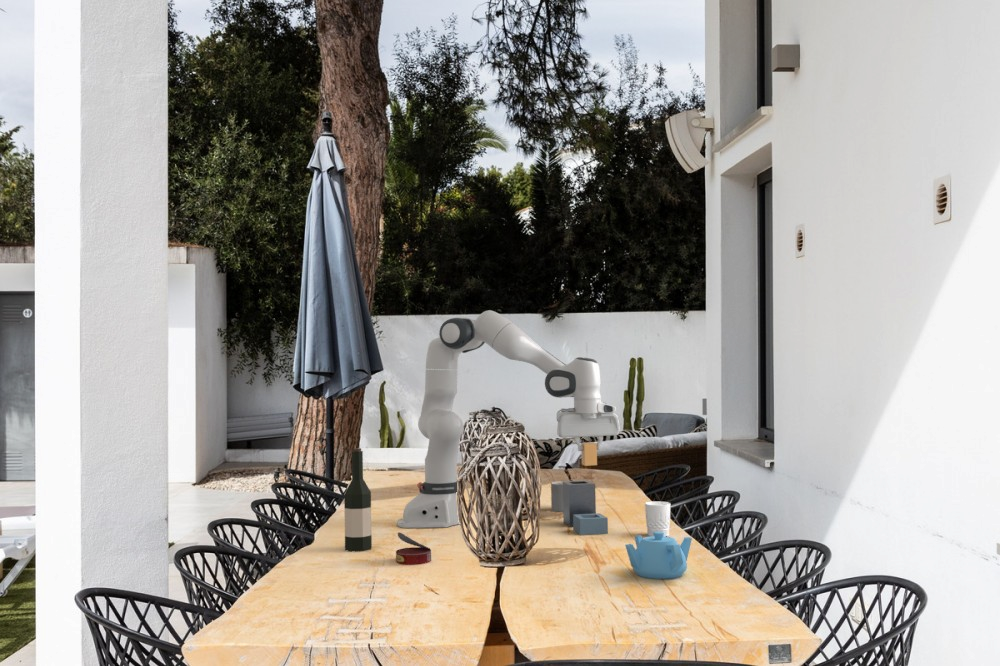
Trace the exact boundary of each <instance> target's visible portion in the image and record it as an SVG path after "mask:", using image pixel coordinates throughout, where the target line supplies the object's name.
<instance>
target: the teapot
mask: <svg viewBox="0 0 1000 666" xmlns="http://www.w3.org/2000/svg"><path fill="white" fill-rule="evenodd" d="M653 535H654V536H645V537H643V536H642V535H634V541H635V545H636V548H635V546H634V544H632V543H628V544H625V549H626V552H627V556H628V558H629V559H628V560H629V562H630V566H631V568H632V570H633V571H634V572H635V574H636V575H637V576H639V577H642V578H645V579H652V580H653V579H654V580H669V579H676V578H680V577H682V575H683V574H685V572H686V571H687V568H688V566H687V564H688V563H687V561H688V557H689V553H690V548H691V544H692V540H693V538H692V537H690V536H686V537H684V538H683V540H682V542H681V544H679V543H678V542H677V540H676V539H675V538H673V537H672V536H670V537H669V536H667V537H666V536H664V532H653Z"/></svg>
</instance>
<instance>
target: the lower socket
mask: <svg viewBox="0 0 1000 666" xmlns="http://www.w3.org/2000/svg"><path fill="white" fill-rule="evenodd" d="M608 523H609V521H608V517H607V516H605V515H603V514H601V512H600V513H597V512H596V514H576V515H573V527H572V528H573V532H575V533H577V534H578V535H580V536H587V535H588V536H591V535H608V534H609V526H608V525H609V524H608Z"/></svg>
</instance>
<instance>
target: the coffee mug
mask: <svg viewBox="0 0 1000 666" xmlns="http://www.w3.org/2000/svg"><path fill="white" fill-rule="evenodd" d="M563 481H564V480H559V481H552V482H551V483H550V488H551V489H550V501H551V503H550V504H551V511H552V512H555V513H563Z"/></svg>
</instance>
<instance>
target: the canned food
mask: <svg viewBox="0 0 1000 666" xmlns="http://www.w3.org/2000/svg"><path fill="white" fill-rule="evenodd" d="M397 536H398V538H399V539H400V540H401V541H403V542H404V543H407V544H409V545H411V546H412V545H413V546H414V547H413V546H412V547H405V548H404V547H403V548H400V549H397V550H396V551H395V563H396V564H398V565H404V566H414V565H415V566H416V565H425V564H429V563H430V562H432V549H431V548H430V547H428V546H425V545H424V544H421V543H419V542H417V541H416V540H414V539H412V538H411V537H409V536H406V535H405V534H404V533H402V532H397Z"/></svg>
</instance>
